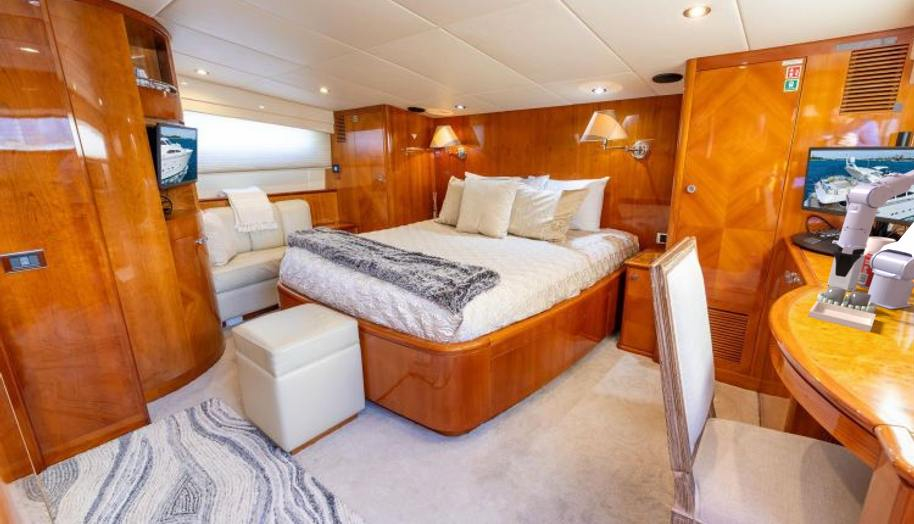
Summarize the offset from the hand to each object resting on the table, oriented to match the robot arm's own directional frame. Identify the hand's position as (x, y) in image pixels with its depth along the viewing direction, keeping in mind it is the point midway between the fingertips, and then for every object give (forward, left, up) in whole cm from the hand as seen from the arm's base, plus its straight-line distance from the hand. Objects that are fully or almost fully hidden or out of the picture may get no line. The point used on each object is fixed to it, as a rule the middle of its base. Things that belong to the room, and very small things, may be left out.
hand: (842, 273), depth 113 cm
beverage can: (-30, -8, -10) cm, 33 cm away
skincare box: (-20, -10, -10) cm, 24 cm away
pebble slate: (0, 0, -9) cm, 9 cm away
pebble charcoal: (-2, +4, -9) cm, 11 cm away
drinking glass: (-42, -14, -10) cm, 45 cm away
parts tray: (+11, +8, -10) cm, 17 cm away
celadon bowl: (-1, +2, -10) cm, 10 cm away
